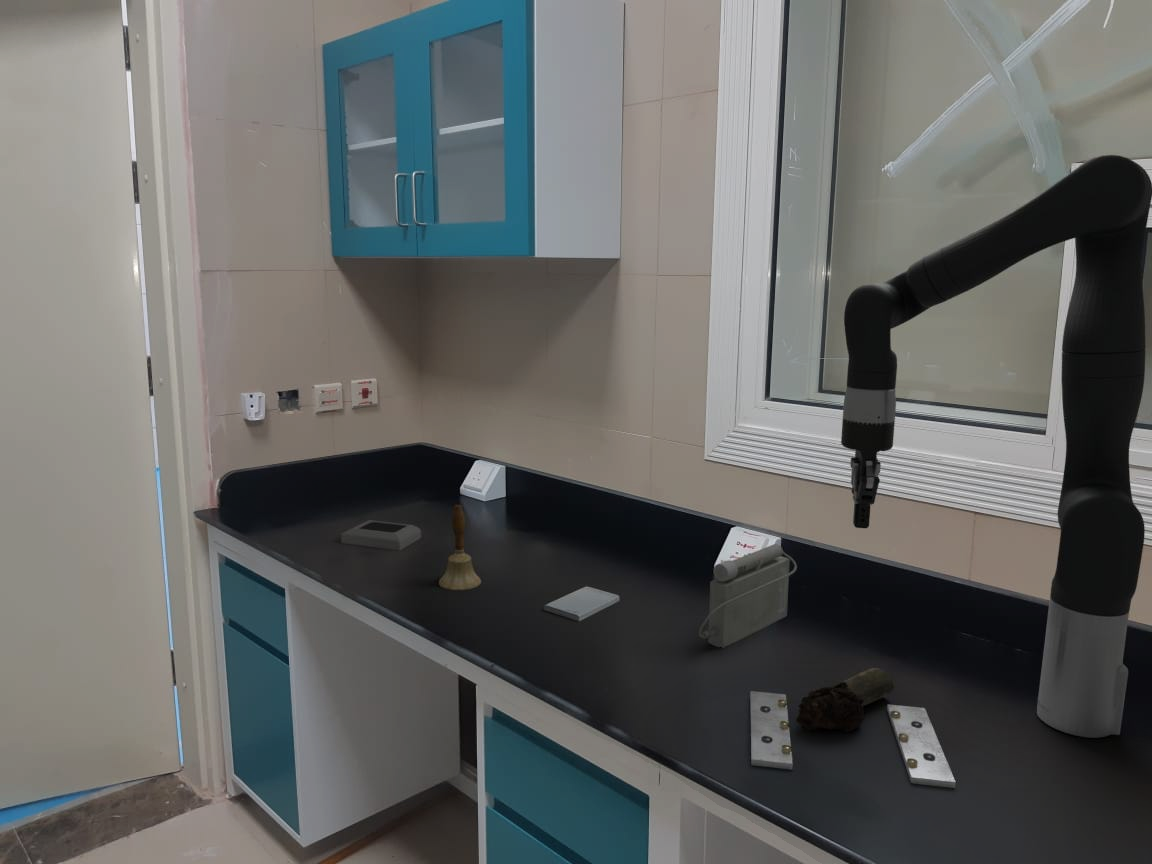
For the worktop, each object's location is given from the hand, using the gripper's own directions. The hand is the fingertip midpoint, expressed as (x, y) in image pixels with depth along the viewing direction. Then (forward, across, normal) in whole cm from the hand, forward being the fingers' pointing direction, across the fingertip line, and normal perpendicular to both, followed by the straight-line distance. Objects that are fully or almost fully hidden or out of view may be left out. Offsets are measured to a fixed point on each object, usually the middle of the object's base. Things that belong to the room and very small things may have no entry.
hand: (860, 526), depth 132 cm
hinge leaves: (+22, -25, +4) cm, 34 cm away
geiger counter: (+22, +6, +17) cm, 29 cm away
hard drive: (+23, +13, +46) cm, 53 cm away
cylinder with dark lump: (+22, -19, +3) cm, 29 cm away
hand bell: (+22, +19, +72) cm, 78 cm away
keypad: (+23, +41, +98) cm, 109 cm away
